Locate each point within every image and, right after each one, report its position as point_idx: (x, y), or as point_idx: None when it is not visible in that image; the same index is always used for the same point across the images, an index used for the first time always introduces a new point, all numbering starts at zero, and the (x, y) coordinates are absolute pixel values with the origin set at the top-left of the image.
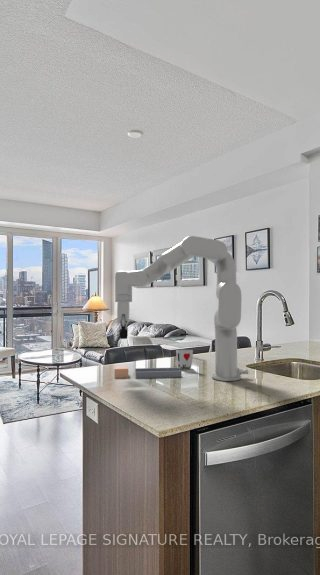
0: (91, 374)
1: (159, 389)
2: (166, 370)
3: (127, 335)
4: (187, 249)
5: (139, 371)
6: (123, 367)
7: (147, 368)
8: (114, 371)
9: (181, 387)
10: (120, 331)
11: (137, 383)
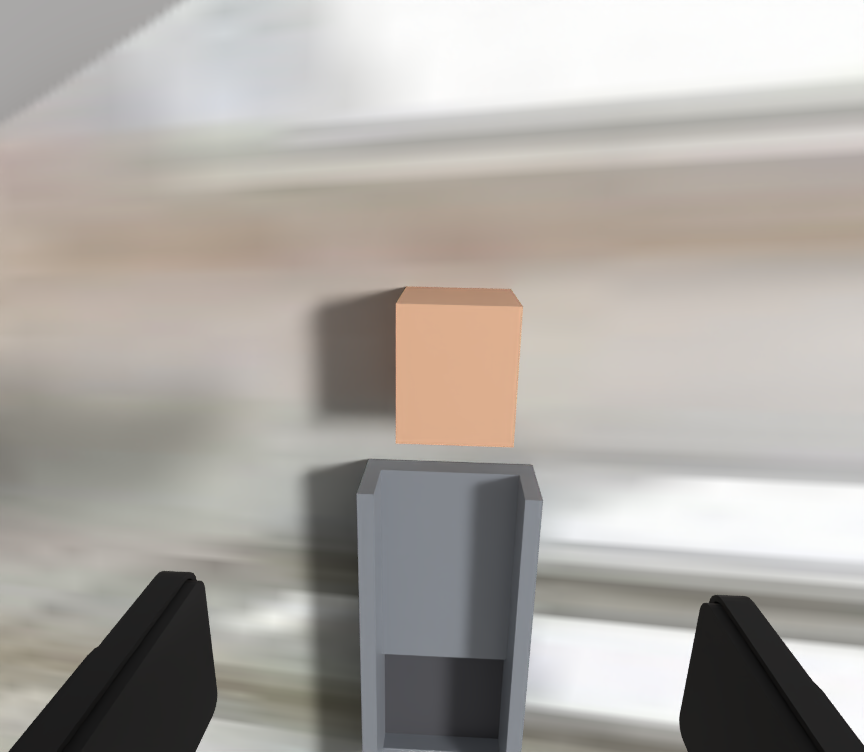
0: (747, 17)
1: (97, 591)
2: (505, 718)
3: (692, 746)
4: None
5: (518, 521)
6: (477, 398)
7: (518, 600)
8: (398, 299)
9: None
10: (42, 732)
11: (277, 468)
